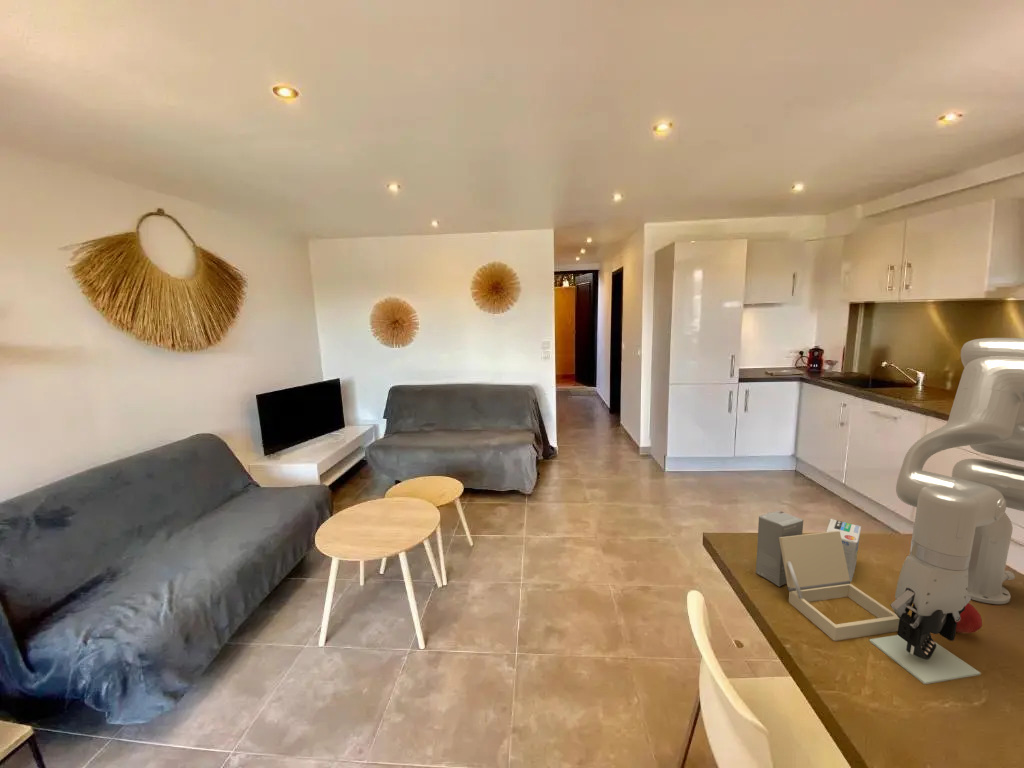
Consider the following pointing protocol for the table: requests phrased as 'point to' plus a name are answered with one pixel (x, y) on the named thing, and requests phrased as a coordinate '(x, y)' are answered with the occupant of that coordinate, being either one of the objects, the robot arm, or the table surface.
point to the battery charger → (927, 634)
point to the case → (828, 585)
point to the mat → (925, 661)
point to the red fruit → (969, 620)
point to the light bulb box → (847, 541)
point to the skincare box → (774, 544)
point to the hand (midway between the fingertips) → (925, 637)
